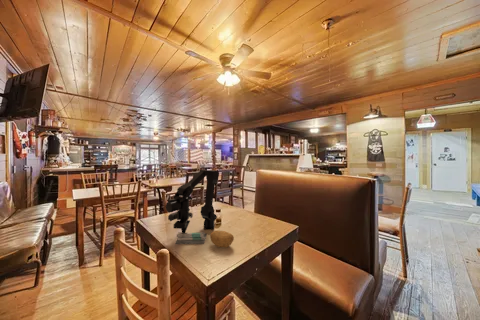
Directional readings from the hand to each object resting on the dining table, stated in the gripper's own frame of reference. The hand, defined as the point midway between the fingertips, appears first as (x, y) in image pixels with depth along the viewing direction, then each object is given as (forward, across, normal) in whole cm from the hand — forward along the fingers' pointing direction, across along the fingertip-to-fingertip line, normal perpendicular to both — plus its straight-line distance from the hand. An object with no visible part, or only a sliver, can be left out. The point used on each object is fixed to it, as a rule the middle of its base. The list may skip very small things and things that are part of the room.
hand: (183, 234), depth 109 cm
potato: (+3, +8, +23) cm, 25 cm away
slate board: (+3, 0, +5) cm, 6 cm away
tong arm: (0, +2, +5) cm, 5 cm away
